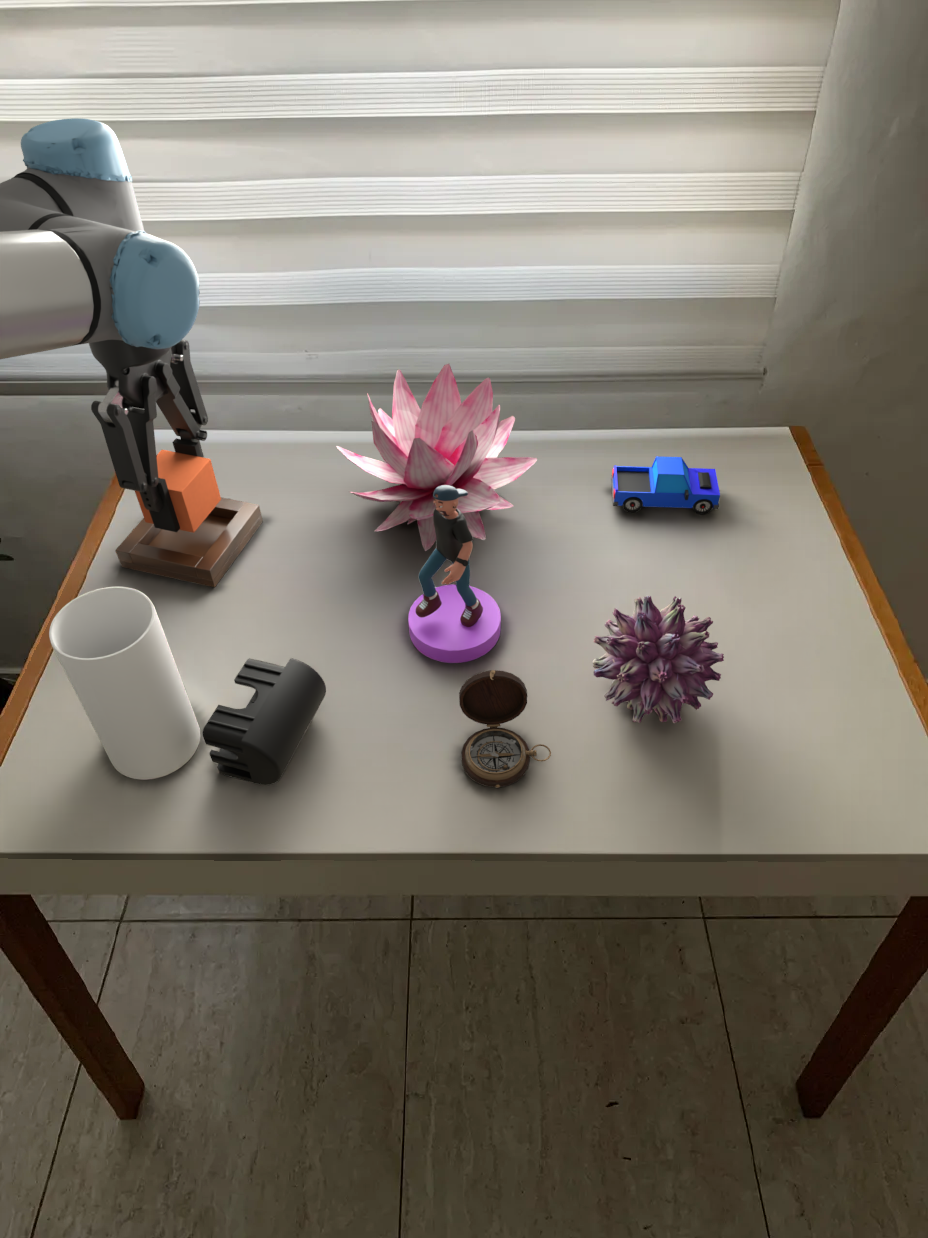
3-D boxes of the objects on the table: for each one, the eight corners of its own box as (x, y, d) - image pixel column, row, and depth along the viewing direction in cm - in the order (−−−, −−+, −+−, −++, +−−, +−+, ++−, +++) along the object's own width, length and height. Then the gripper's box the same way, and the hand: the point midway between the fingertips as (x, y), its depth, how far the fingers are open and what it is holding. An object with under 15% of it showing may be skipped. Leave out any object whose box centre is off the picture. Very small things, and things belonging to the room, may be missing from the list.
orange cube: (194, 533, 97) (181, 492, 93) (145, 522, 99) (131, 481, 95) (221, 499, 101) (210, 458, 97) (174, 489, 103) (161, 449, 99)
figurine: (391, 624, 94) (375, 484, 81) (461, 584, 98) (457, 444, 85) (447, 677, 89) (440, 537, 76) (519, 632, 93) (524, 491, 80)
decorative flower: (403, 439, 117) (394, 331, 106) (558, 483, 110) (565, 371, 99) (311, 539, 103) (290, 426, 93) (480, 595, 96) (479, 481, 86)
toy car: (717, 520, 104) (725, 485, 101) (612, 516, 105) (616, 482, 102) (711, 484, 109) (718, 449, 105) (610, 481, 110) (614, 447, 106)
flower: (689, 767, 83) (564, 725, 83) (702, 667, 90) (588, 629, 91) (741, 697, 74) (600, 651, 74) (750, 592, 81) (623, 551, 82)
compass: (462, 792, 79) (461, 741, 74) (459, 720, 85) (458, 668, 80) (554, 788, 79) (558, 737, 74) (545, 716, 85) (549, 664, 80)
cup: (213, 713, 86) (171, 591, 75) (179, 785, 80) (128, 666, 69) (132, 702, 87) (78, 581, 76) (93, 773, 82) (28, 653, 70)
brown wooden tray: (214, 587, 98) (209, 570, 96) (121, 567, 101) (114, 550, 99) (263, 521, 106) (259, 504, 104) (175, 503, 108) (170, 487, 107)
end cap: (286, 797, 79) (273, 751, 75) (214, 777, 81) (196, 731, 76) (331, 710, 86) (322, 663, 81) (264, 694, 88) (250, 646, 83)
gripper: (97, 369, 76) (167, 572, 93) (210, 270, 88) (254, 465, 105) (22, 356, 78) (104, 557, 94) (143, 261, 90) (197, 454, 107)
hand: (183, 508), depth 100 cm, fingers closed on orange cube, 6 cm apart
